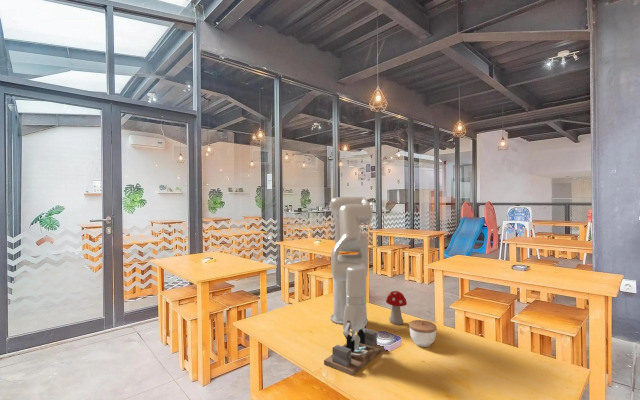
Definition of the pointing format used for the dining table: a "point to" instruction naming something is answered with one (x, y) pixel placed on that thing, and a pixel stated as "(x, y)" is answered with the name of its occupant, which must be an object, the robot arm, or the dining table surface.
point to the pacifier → (357, 346)
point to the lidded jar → (422, 332)
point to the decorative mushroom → (396, 306)
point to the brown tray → (351, 362)
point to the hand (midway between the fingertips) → (355, 346)
